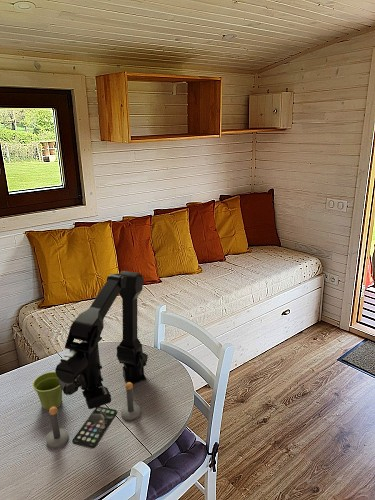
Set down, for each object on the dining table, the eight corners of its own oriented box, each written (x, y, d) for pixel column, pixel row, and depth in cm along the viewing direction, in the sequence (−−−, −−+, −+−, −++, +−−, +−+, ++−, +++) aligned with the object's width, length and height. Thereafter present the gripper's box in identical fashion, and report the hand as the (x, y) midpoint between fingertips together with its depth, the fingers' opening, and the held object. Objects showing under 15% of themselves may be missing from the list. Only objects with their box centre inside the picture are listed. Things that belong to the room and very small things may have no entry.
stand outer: (66, 428, 112) (62, 397, 108) (70, 443, 107) (66, 410, 103) (44, 436, 109) (39, 404, 106) (48, 451, 104) (42, 418, 101)
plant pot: (57, 416, 117) (54, 392, 114) (30, 411, 118) (26, 388, 116) (72, 395, 125) (69, 373, 123) (46, 391, 127) (43, 370, 124)
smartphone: (118, 410, 119) (94, 447, 105) (118, 412, 119) (94, 449, 105) (97, 405, 121) (70, 441, 107) (97, 407, 121) (70, 443, 107)
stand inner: (136, 404, 122) (134, 374, 118) (143, 416, 116) (142, 385, 113) (118, 410, 119) (116, 380, 115) (124, 423, 114) (122, 392, 110)
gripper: (53, 351, 110) (59, 395, 115) (65, 389, 94) (72, 439, 99) (91, 341, 115) (95, 384, 120) (109, 376, 99) (113, 423, 104)
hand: (93, 406), depth 111 cm, fingers closed
